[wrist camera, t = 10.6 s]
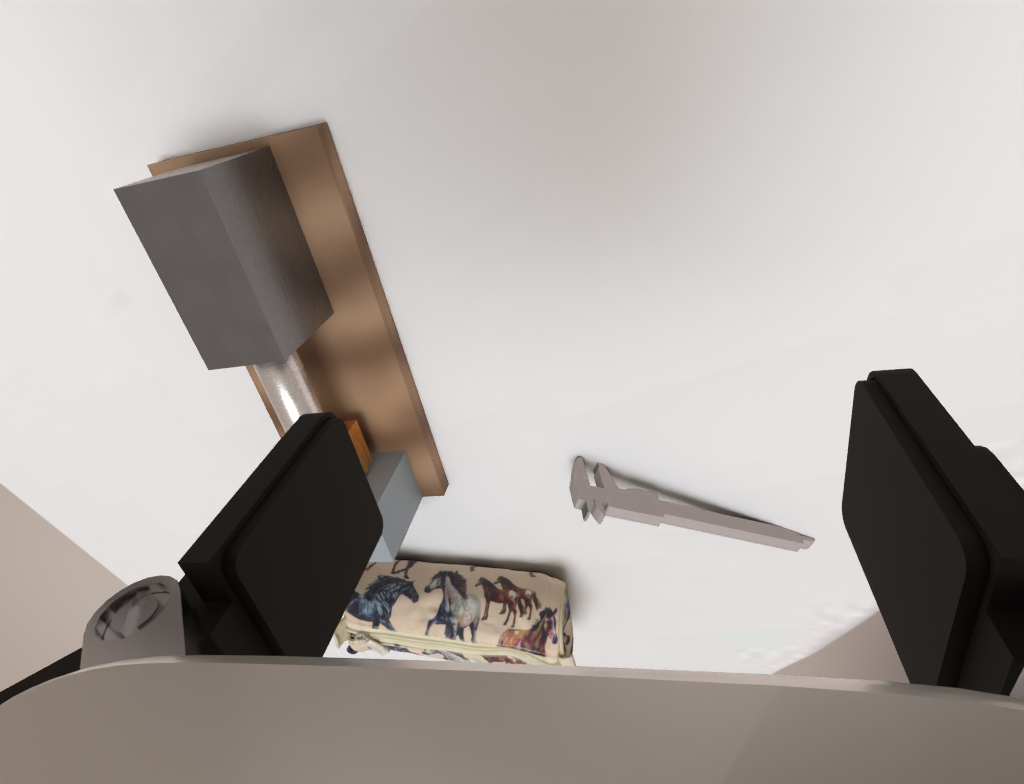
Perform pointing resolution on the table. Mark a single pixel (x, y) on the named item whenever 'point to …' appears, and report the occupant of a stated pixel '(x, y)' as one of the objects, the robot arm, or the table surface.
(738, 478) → the table surface
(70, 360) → the table surface
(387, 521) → the socket
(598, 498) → the caliper
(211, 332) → the sleeve
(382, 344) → the board
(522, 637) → the pencil case
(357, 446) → the tube
